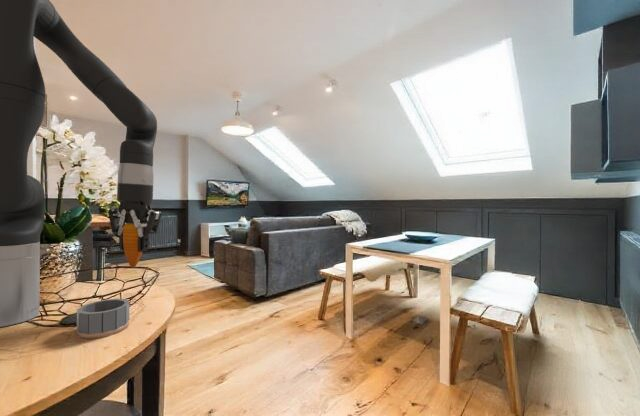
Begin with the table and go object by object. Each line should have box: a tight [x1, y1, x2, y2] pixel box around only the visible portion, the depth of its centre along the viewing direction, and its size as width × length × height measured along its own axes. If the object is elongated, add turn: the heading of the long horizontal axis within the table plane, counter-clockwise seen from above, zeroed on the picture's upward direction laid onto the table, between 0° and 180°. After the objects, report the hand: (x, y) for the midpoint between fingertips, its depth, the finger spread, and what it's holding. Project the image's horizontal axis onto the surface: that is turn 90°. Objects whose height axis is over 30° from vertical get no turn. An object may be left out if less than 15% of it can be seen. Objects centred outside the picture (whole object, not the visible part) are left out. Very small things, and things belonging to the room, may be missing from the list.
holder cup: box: [76, 298, 131, 340], centre depth 59 cm, size 9×9×5 cm
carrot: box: [123, 211, 144, 269], centre depth 70 cm, size 5×5×15 cm
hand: (133, 250), depth 70 cm, fingers closed on carrot, 4 cm apart
